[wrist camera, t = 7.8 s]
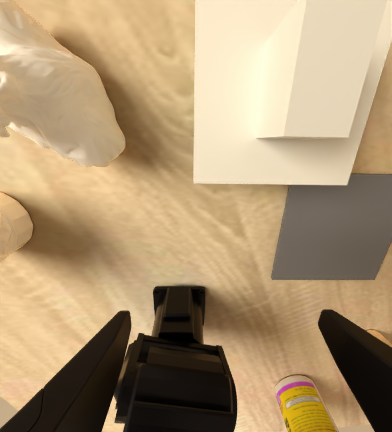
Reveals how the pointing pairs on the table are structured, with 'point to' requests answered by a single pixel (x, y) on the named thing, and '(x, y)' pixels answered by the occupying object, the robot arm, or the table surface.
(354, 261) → the mat
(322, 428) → the supplement bottle
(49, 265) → the table surface
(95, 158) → the bust
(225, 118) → the lid
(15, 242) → the white cup
